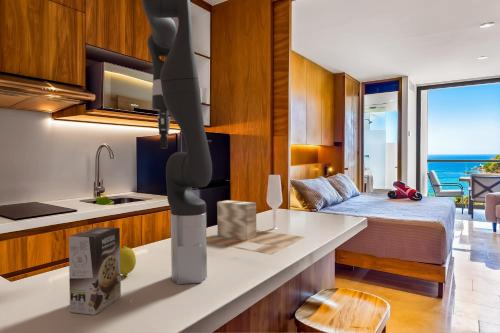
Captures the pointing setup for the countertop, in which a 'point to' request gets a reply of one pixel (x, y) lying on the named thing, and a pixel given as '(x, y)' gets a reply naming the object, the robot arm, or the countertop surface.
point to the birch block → (236, 219)
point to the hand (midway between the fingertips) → (163, 148)
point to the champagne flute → (274, 195)
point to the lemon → (127, 260)
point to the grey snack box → (94, 269)
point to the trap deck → (258, 241)
